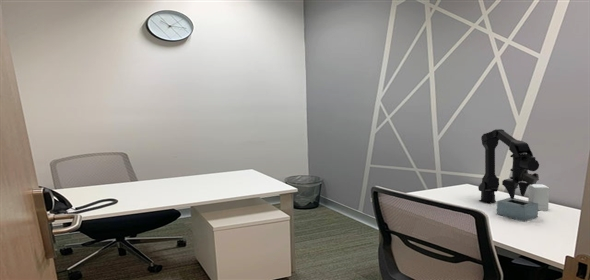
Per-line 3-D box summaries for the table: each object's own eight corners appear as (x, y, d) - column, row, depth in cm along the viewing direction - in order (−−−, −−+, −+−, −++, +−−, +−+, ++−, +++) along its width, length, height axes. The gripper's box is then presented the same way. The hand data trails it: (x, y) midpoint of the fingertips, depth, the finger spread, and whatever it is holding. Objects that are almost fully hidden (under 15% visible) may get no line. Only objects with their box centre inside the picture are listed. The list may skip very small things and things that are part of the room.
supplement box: (548, 210, 200) (549, 187, 198) (533, 210, 202) (534, 187, 200) (542, 206, 207) (543, 184, 206) (527, 206, 209) (528, 183, 207)
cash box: (496, 214, 197) (497, 201, 196) (510, 210, 203) (510, 197, 202) (524, 221, 185) (525, 207, 184) (537, 216, 191) (538, 203, 190)
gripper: (525, 172, 180) (523, 204, 182) (545, 167, 189) (544, 197, 191) (502, 168, 189) (500, 199, 191) (523, 164, 199) (521, 193, 200)
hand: (517, 197), depth 193 cm, fingers open, 9 cm apart
